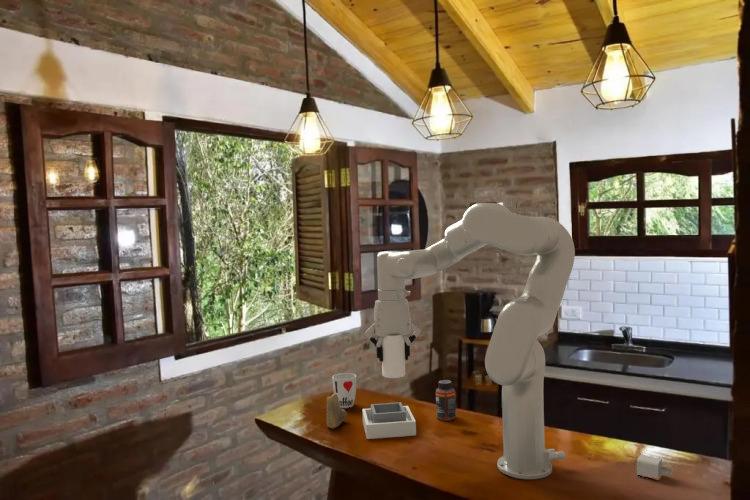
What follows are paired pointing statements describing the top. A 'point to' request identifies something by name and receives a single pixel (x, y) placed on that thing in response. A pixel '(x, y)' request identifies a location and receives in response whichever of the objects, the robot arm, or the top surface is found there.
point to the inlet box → (388, 421)
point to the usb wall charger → (651, 467)
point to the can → (393, 357)
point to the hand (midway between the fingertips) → (393, 359)
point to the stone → (334, 412)
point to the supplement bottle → (445, 401)
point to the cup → (345, 388)
